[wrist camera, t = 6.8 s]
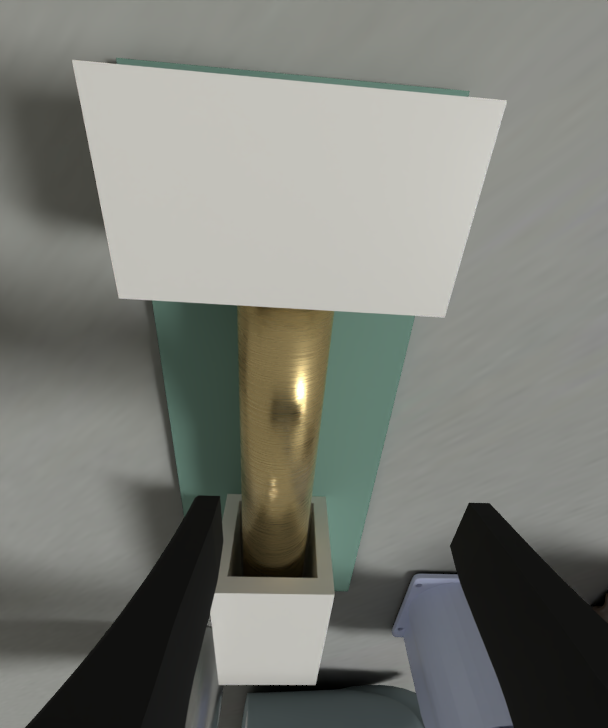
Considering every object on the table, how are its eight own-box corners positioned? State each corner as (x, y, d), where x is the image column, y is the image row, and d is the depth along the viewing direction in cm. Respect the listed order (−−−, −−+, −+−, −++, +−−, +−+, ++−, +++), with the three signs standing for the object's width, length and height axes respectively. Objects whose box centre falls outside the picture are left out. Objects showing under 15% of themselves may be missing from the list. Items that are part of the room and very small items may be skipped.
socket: (393, 261, 15) (444, 317, 10) (180, 247, 15) (118, 298, 10) (420, 122, 13) (507, 100, 8) (165, 99, 12) (71, 60, 7)
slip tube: (303, 543, 24) (304, 605, 21) (245, 542, 24) (237, 605, 20) (343, 196, 13) (358, 211, 10) (239, 189, 13) (221, 201, 10)
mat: (347, 583, 29) (348, 591, 29) (196, 581, 28) (194, 589, 28) (462, 93, 13) (469, 91, 13) (123, 62, 12) (115, 57, 12)
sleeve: (311, 589, 28) (315, 685, 23) (232, 588, 28) (218, 684, 23) (325, 496, 23) (334, 594, 18) (227, 493, 23) (208, 593, 17)
